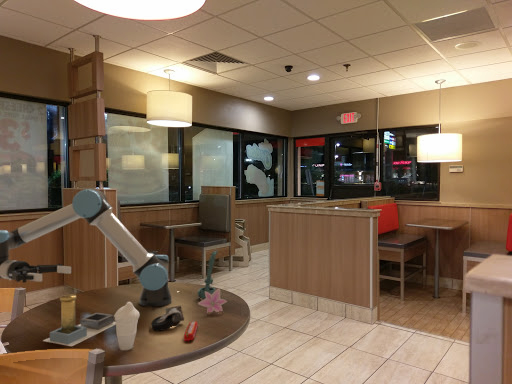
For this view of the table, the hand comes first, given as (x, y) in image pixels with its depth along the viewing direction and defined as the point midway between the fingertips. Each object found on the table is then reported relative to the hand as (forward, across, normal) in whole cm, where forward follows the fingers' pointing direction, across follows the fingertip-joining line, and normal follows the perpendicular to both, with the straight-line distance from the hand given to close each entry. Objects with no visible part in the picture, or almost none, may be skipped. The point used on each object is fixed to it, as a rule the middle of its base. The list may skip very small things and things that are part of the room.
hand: (56, 273), depth 141 cm
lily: (+48, -39, -23) cm, 66 cm away
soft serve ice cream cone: (+36, +5, -22) cm, 42 cm away
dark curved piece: (+38, -56, -23) cm, 71 cm away
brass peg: (+13, +7, -21) cm, 25 cm away
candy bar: (+51, -14, -23) cm, 57 cm away
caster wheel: (+39, -16, -23) cm, 48 cm away
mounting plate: (+13, 0, -22) cm, 25 cm away
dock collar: (+13, +7, -21) cm, 25 cm away
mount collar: (+13, -7, -21) cm, 25 cm away
